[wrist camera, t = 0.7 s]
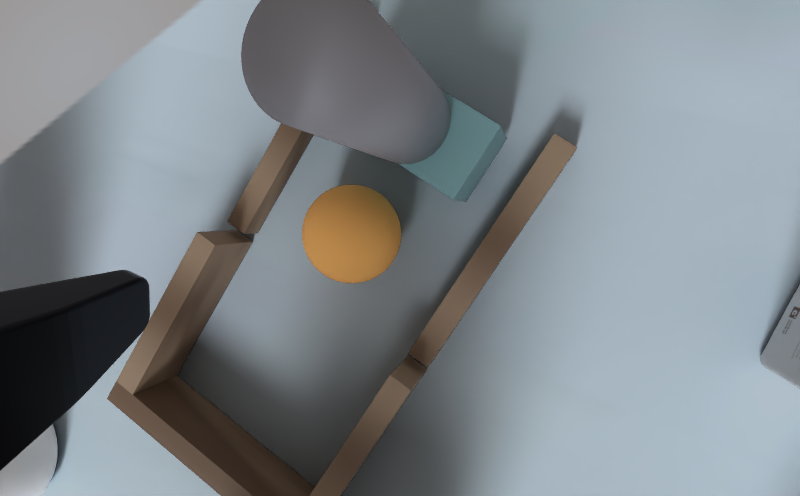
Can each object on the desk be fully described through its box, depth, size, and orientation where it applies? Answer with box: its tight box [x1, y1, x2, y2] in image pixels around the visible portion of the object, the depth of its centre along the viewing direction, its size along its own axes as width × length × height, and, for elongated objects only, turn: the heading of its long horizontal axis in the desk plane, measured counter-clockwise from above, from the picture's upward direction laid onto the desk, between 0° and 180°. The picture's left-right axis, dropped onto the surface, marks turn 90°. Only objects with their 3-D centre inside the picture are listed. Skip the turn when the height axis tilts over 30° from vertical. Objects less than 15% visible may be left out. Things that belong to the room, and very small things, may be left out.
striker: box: [241, 0, 507, 202], centre depth 17 cm, size 3×6×12 cm, turn 57°
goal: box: [107, 123, 577, 496], centre depth 23 cm, size 20×11×3 cm, turn 147°
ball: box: [302, 185, 401, 283], centre depth 22 cm, size 4×4×4 cm
